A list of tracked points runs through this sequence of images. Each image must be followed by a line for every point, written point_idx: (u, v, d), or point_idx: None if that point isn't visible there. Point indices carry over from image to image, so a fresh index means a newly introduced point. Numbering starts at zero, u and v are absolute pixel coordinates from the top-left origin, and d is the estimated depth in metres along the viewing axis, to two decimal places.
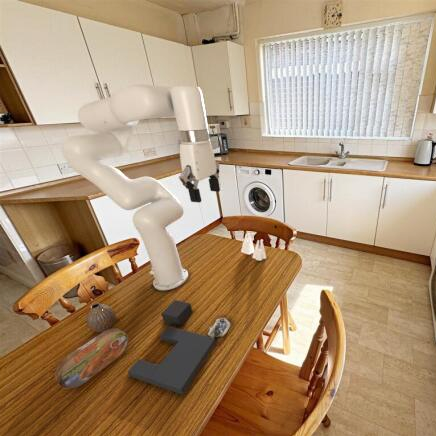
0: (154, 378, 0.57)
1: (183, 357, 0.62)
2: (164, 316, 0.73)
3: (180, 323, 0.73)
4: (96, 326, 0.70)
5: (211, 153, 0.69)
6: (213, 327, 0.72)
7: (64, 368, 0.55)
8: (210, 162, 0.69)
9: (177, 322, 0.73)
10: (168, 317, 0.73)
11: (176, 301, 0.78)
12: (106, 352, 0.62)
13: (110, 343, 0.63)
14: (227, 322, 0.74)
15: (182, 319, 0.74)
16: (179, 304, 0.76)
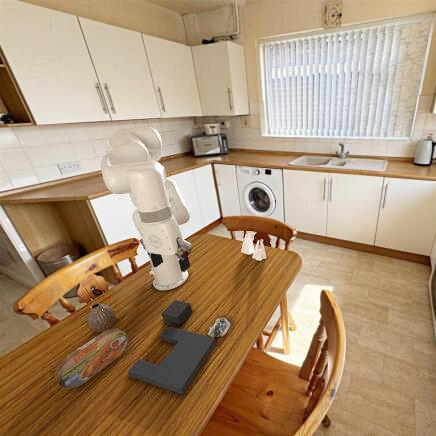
0: (154, 378, 0.57)
1: (183, 357, 0.62)
2: (164, 316, 0.73)
3: (180, 323, 0.73)
4: (96, 326, 0.70)
5: None
6: (213, 327, 0.72)
7: (64, 368, 0.55)
8: None
9: (177, 322, 0.73)
10: (168, 317, 0.73)
11: (176, 301, 0.78)
12: (106, 352, 0.62)
13: (110, 343, 0.63)
14: (227, 322, 0.74)
15: (182, 319, 0.74)
16: (179, 304, 0.76)
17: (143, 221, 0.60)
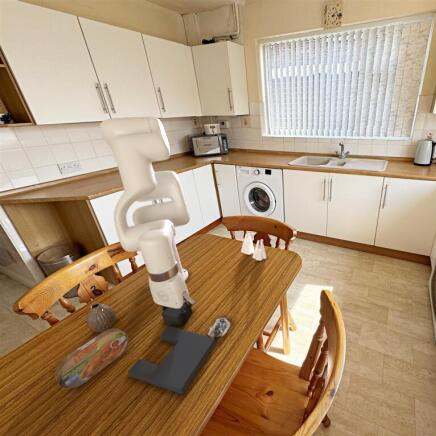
0: (154, 378, 0.57)
1: (183, 357, 0.62)
2: (164, 316, 0.73)
3: (180, 323, 0.73)
4: (96, 326, 0.70)
5: None
6: (213, 327, 0.72)
7: (64, 368, 0.55)
8: None
9: (177, 322, 0.73)
10: (168, 317, 0.73)
11: None
12: (106, 352, 0.62)
13: (110, 343, 0.63)
14: (227, 322, 0.74)
15: None
16: None
17: (152, 280, 0.66)
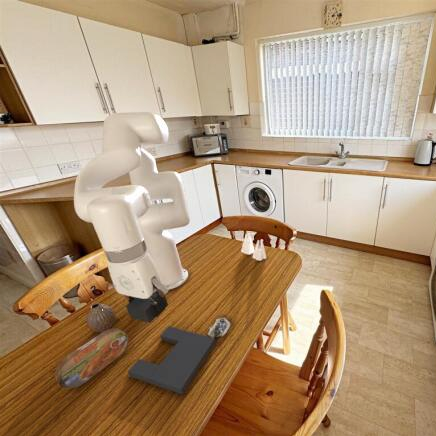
0: (154, 378, 0.57)
1: (183, 357, 0.62)
2: (129, 309, 0.57)
3: (150, 318, 0.57)
4: (96, 326, 0.70)
5: None
6: (213, 327, 0.72)
7: (64, 368, 0.55)
8: None
9: (146, 317, 0.57)
10: (134, 311, 0.57)
11: None
12: (106, 352, 0.62)
13: (110, 343, 0.63)
14: (227, 322, 0.74)
15: None
16: None
17: (109, 261, 0.50)
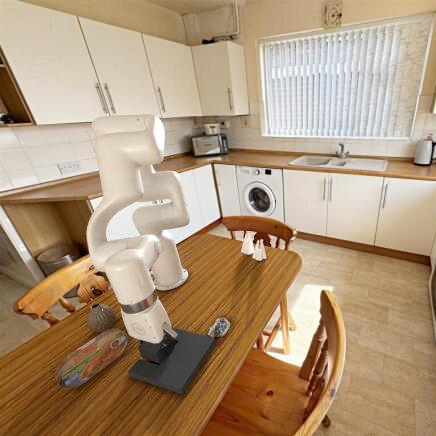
0: (154, 378, 0.57)
1: (183, 357, 0.62)
2: (141, 351, 0.61)
3: (160, 359, 0.61)
4: (96, 326, 0.70)
5: None
6: (213, 327, 0.72)
7: (64, 368, 0.55)
8: None
9: (156, 358, 0.60)
10: (146, 353, 0.61)
11: None
12: (106, 352, 0.62)
13: (110, 343, 0.63)
14: (227, 322, 0.74)
15: None
16: None
17: (124, 311, 0.54)
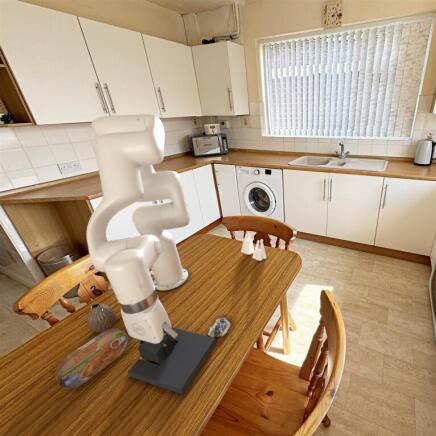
0: (154, 378, 0.57)
1: (183, 357, 0.62)
2: (140, 351, 0.61)
3: (160, 359, 0.61)
4: (96, 326, 0.70)
5: None
6: (213, 327, 0.72)
7: (64, 368, 0.55)
8: None
9: (156, 359, 0.60)
10: (146, 353, 0.61)
11: None
12: (106, 352, 0.62)
13: (110, 343, 0.63)
14: (227, 322, 0.74)
15: None
16: None
17: (124, 311, 0.54)
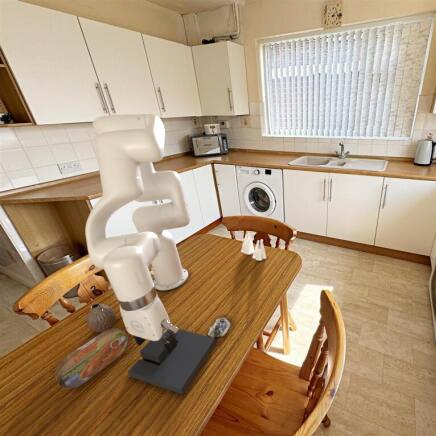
0: (154, 378, 0.57)
1: (183, 357, 0.62)
2: (143, 354, 0.62)
3: None
4: (96, 326, 0.70)
5: None
6: (213, 327, 0.72)
7: (64, 368, 0.55)
8: None
9: (158, 362, 0.61)
10: (148, 356, 0.62)
11: None
12: (106, 352, 0.62)
13: (110, 343, 0.63)
14: (227, 322, 0.74)
15: (164, 358, 0.62)
16: None
17: (122, 308, 0.54)
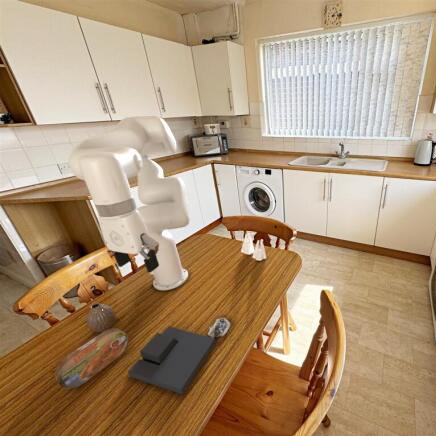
0: (154, 378, 0.57)
1: (183, 357, 0.62)
2: (143, 354, 0.62)
3: None
4: (96, 326, 0.70)
5: None
6: (213, 327, 0.72)
7: (64, 368, 0.55)
8: None
9: (158, 362, 0.61)
10: (148, 356, 0.62)
11: (159, 334, 0.66)
12: (106, 352, 0.62)
13: (110, 343, 0.63)
14: (227, 322, 0.74)
15: (164, 358, 0.62)
16: (162, 339, 0.65)
17: (100, 215, 0.53)
